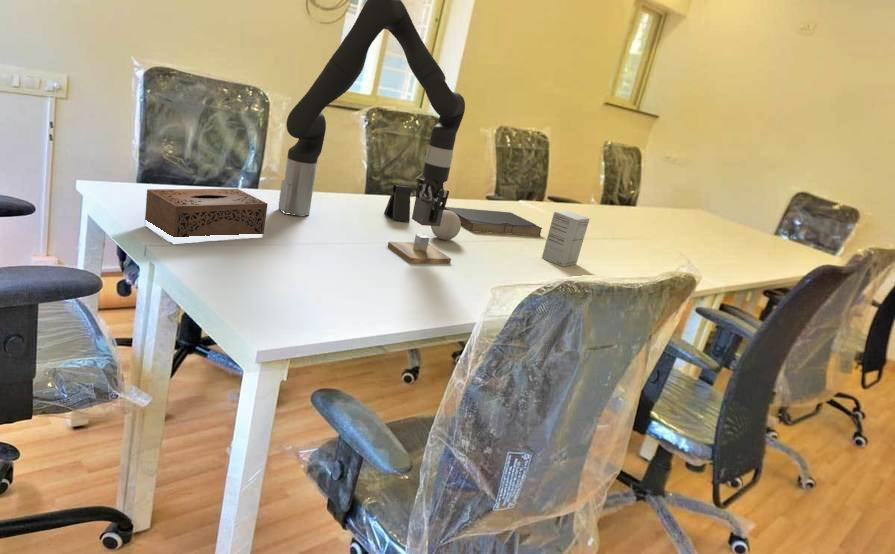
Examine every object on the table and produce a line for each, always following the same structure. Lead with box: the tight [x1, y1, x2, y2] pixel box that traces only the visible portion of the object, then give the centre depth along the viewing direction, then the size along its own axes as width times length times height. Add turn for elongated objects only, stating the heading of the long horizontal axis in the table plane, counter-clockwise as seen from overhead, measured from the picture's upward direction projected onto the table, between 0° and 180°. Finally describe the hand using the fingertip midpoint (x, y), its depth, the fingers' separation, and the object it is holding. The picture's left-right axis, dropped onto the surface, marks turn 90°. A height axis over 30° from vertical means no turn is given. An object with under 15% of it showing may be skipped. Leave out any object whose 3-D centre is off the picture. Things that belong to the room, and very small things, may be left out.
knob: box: [411, 196, 443, 227], centre depth 185 cm, size 6×6×8 cm
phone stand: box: [383, 184, 412, 223], centre depth 224 cm, size 9×6×12 cm, turn 31°
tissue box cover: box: [144, 188, 268, 237], centre depth 166 cm, size 26×14×10 cm, turn 141°
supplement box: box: [541, 210, 590, 268], centre depth 215 cm, size 10×9×17 cm
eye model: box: [430, 210, 462, 241], centre depth 211 cm, size 10×10×10 cm
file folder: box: [444, 206, 543, 237], centre depth 248 cm, size 33×4×24 cm
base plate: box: [387, 241, 452, 264], centre depth 189 cm, size 14×14×2 cm
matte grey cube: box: [413, 233, 430, 252], centre depth 188 cm, size 3×3×4 cm
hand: (426, 218), depth 186 cm, fingers closed on knob, 6 cm apart
